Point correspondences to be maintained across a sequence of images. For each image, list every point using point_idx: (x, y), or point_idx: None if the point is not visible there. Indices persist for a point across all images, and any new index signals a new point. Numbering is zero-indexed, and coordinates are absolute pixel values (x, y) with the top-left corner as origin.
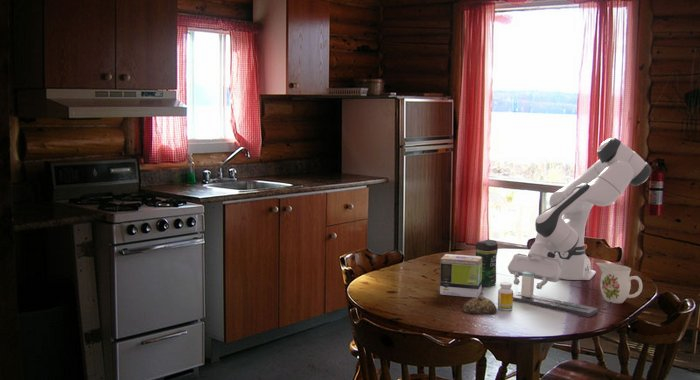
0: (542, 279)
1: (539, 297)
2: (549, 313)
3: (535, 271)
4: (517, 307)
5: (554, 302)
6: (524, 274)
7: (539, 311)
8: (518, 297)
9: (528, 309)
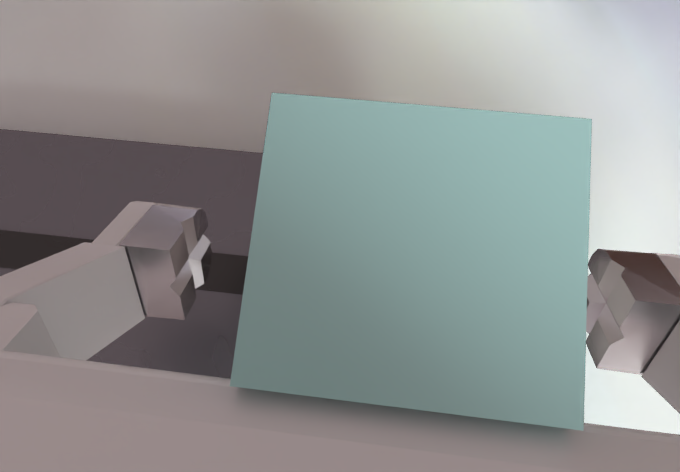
0: (34, 310)
1: None
2: (54, 13)
3: (197, 467)
4: (365, 6)
5: (32, 244)
6: (487, 132)
7: (148, 15)
8: None
9: (254, 10)
